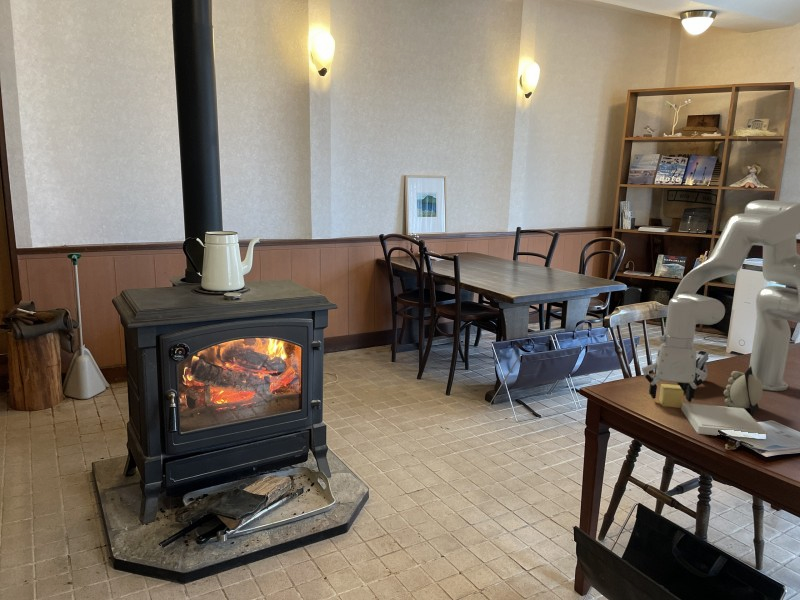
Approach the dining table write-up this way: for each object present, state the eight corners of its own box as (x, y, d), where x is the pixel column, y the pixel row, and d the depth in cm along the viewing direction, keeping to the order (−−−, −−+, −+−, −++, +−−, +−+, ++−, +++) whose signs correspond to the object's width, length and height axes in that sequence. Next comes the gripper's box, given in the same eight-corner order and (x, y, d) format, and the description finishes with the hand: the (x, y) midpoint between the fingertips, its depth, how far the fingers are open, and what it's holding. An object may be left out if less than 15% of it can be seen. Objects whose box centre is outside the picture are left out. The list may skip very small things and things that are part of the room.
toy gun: (676, 402, 185) (676, 373, 180) (700, 375, 195) (701, 347, 190) (684, 405, 183) (684, 375, 179) (708, 377, 193) (709, 348, 189)
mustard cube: (658, 399, 176) (661, 383, 174) (677, 401, 175) (679, 385, 174) (662, 406, 171) (665, 389, 170) (681, 408, 170) (683, 391, 169)
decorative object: (723, 417, 169) (730, 407, 176) (763, 417, 163) (769, 407, 170) (715, 374, 169) (723, 366, 176) (755, 373, 162) (762, 365, 169)
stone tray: (681, 409, 168) (682, 402, 168) (742, 415, 166) (743, 407, 165) (697, 433, 153) (698, 425, 153) (765, 440, 150) (767, 432, 150)
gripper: (648, 342, 167) (641, 400, 170) (715, 347, 164) (706, 406, 167) (643, 335, 174) (636, 391, 177) (707, 340, 171) (698, 396, 174)
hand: (670, 398), depth 172 cm, fingers open, 9 cm apart
